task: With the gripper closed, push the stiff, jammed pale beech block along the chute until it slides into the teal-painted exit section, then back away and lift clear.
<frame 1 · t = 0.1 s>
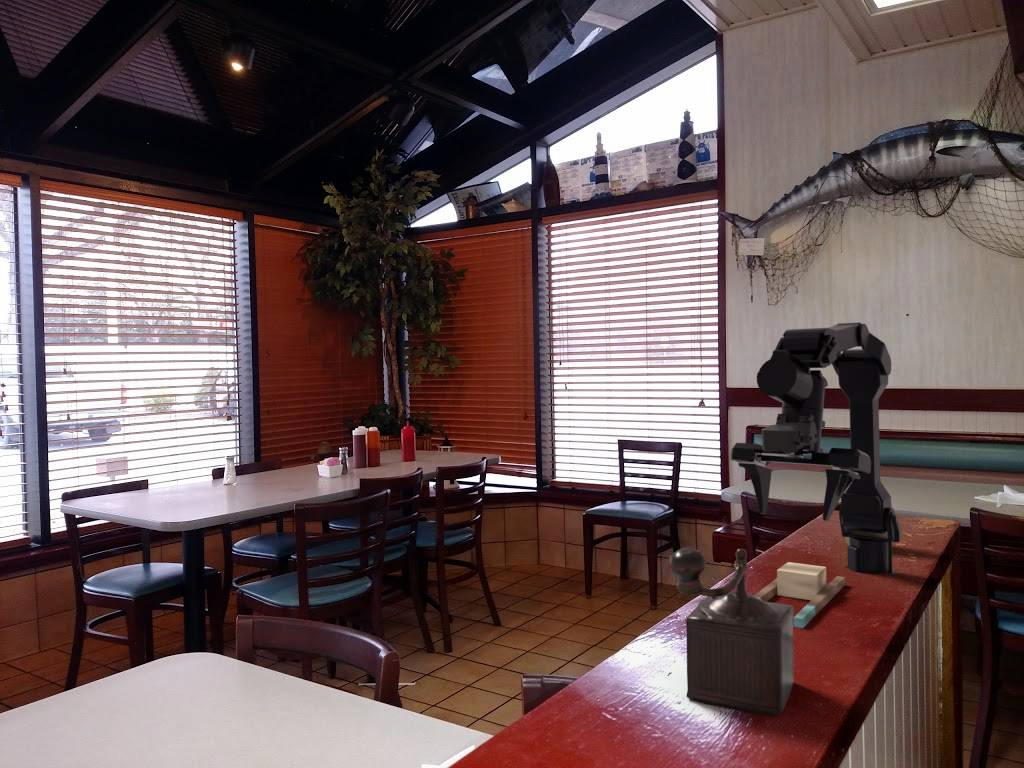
hand: (793, 517, 112), 15 cm above the table, tool pointing down, fingers open, 9 cm apart
squeeze bottle: (863, 547, 157), on the table
dark manual coffee grinder: (733, 700, 87), on the table
jammed block: (801, 580, 124), point 3 cm above the table, slide at 0.0 cm
chute: (794, 604, 121), on the table
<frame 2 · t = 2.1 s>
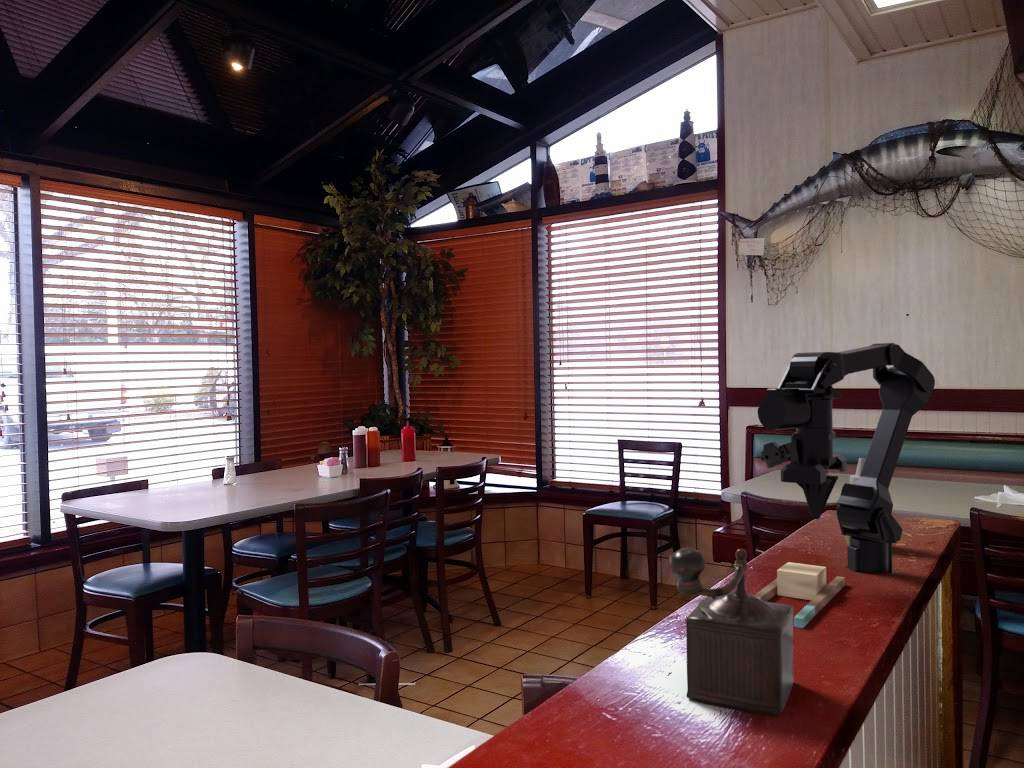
hand: (815, 518, 131), 11 cm above the table, tool pointing down, fingers closed
nothing on the table moved.
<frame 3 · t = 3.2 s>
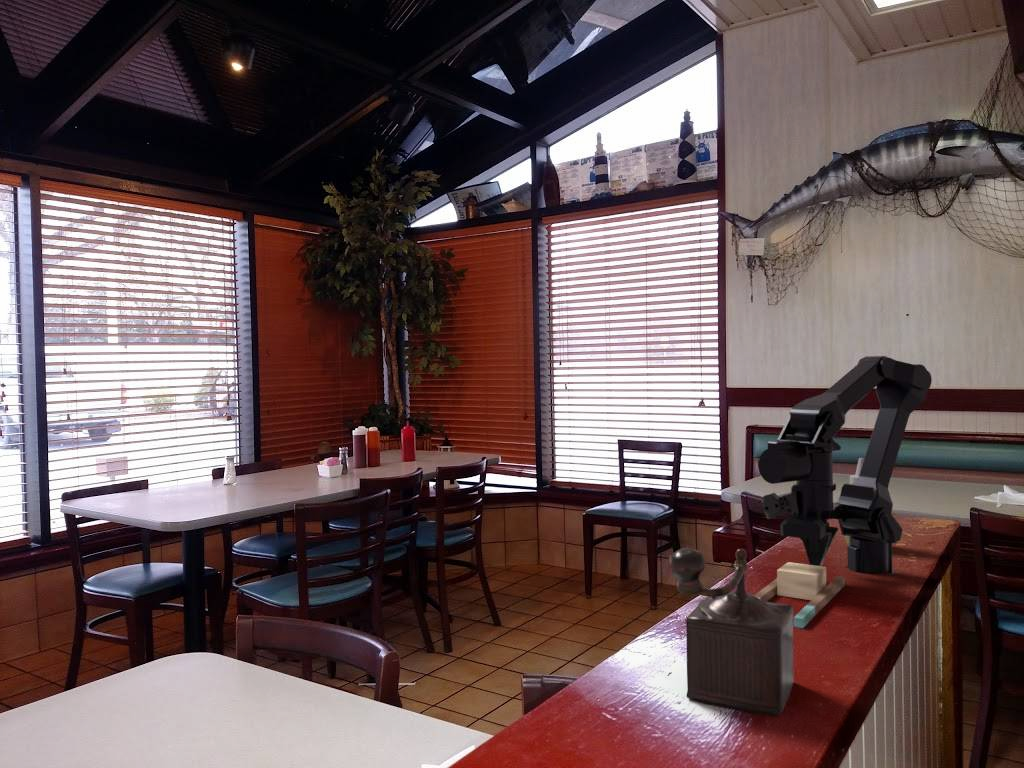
hand: (815, 570, 130), 3 cm above the table, tool pointing down, fingers closed
nothing on the table moved.
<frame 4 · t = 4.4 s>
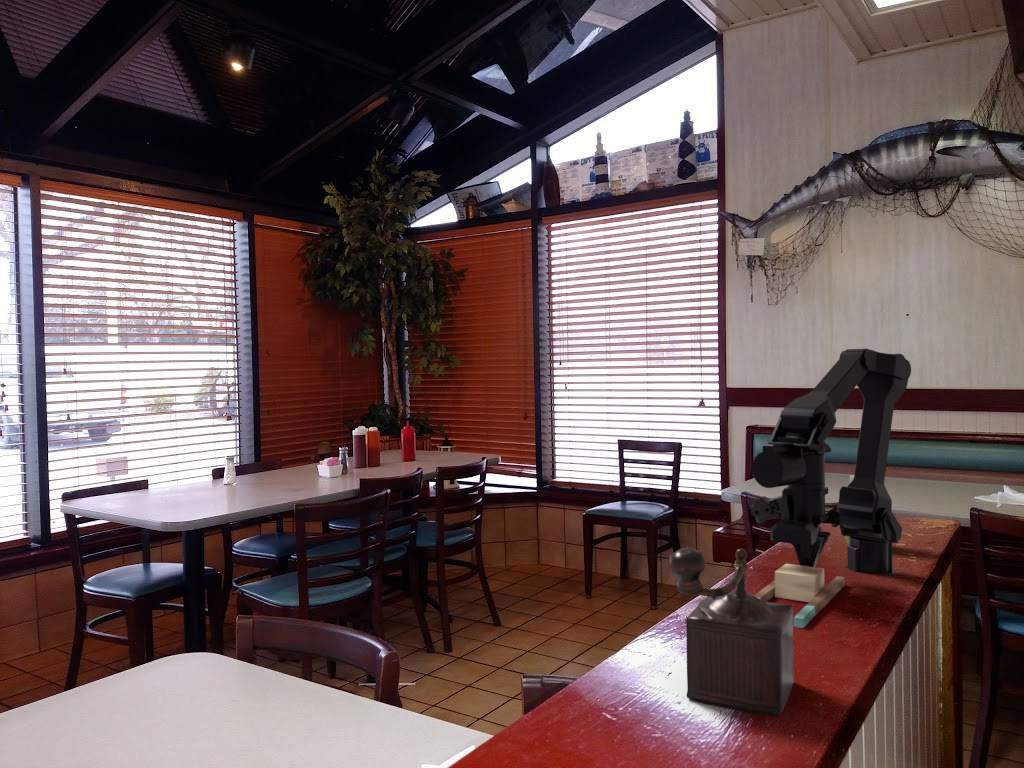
hand: (806, 576, 126), 3 cm above the table, tool pointing down, fingers closed
jammed block: (799, 582, 123), point 3 cm above the table, slide at 1.2 cm, touching gripper
everything else where it was.
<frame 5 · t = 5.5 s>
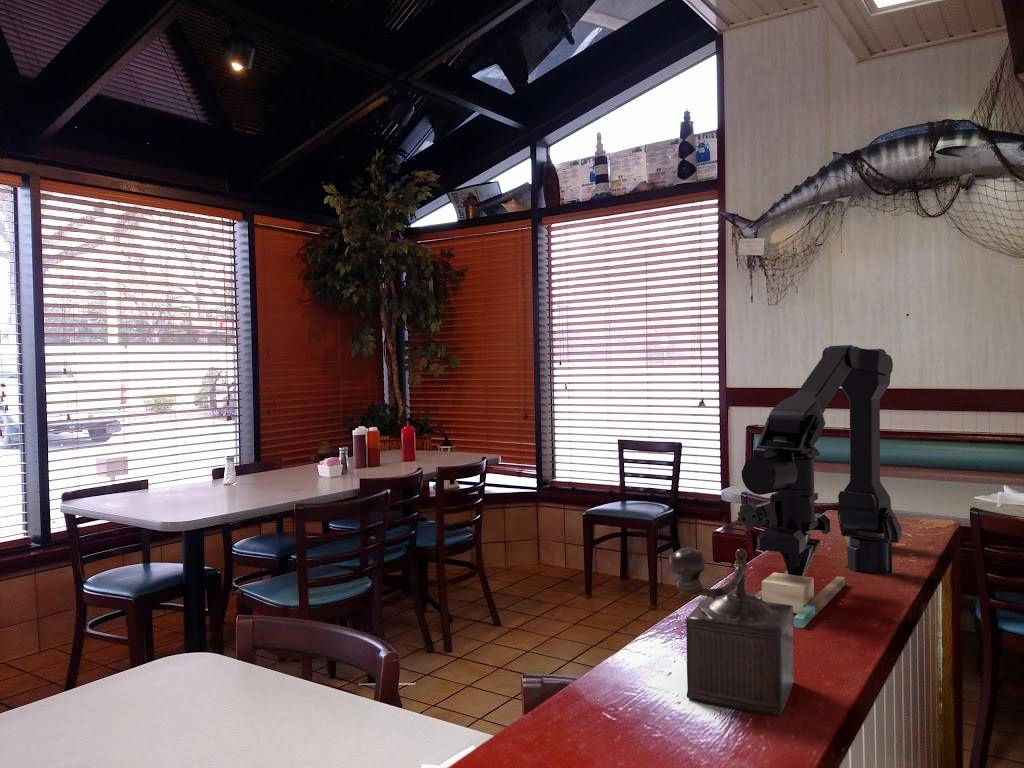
hand: (795, 586, 121), 3 cm above the table, tool pointing down, fingers closed
jammed block: (787, 592, 118), point 3 cm above the table, slide at 7.5 cm, touching gripper
everything else where it was.
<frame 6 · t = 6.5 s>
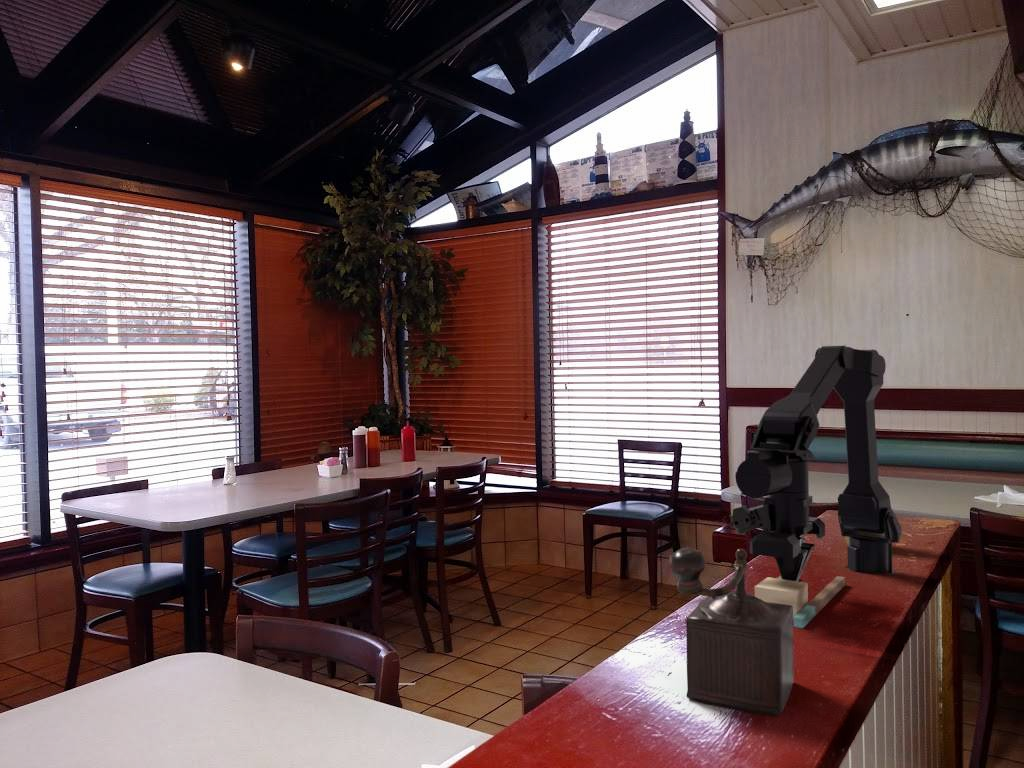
hand: (789, 591, 119), 3 cm above the table, tool pointing down, fingers closed
jammed block: (781, 598, 115), point 3 cm above the table, slide at 10.8 cm, touching gripper
everything else where it was.
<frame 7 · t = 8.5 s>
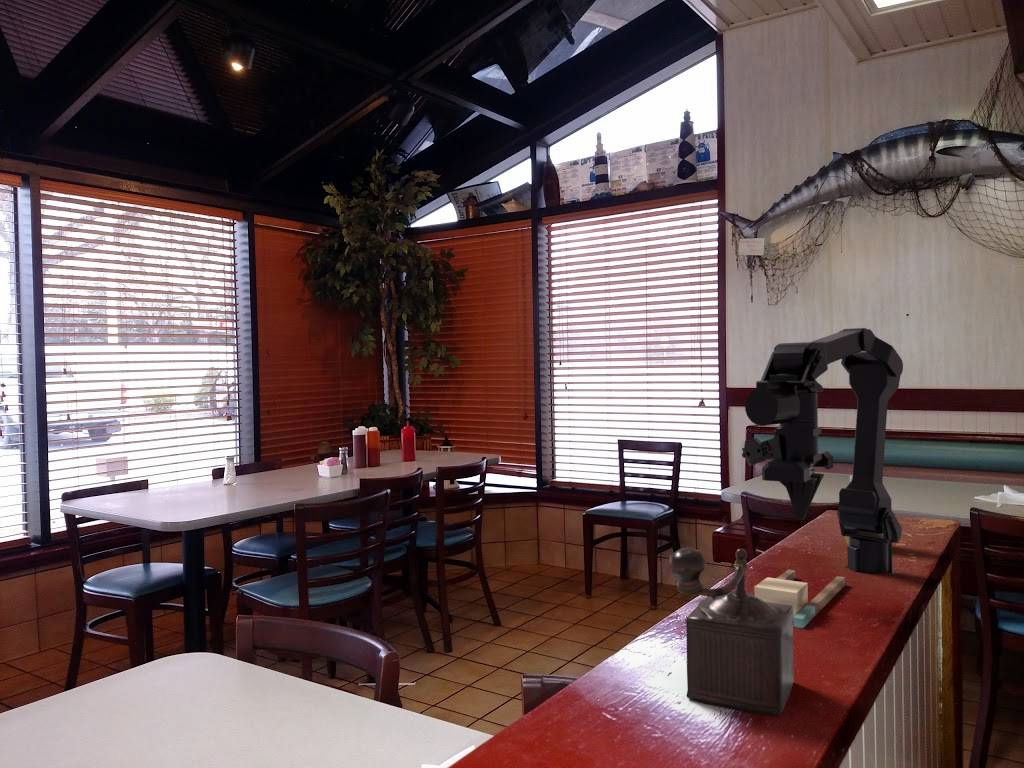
hand: (800, 519, 123), 13 cm above the table, tool pointing down, fingers closed
jammed block: (781, 598, 115), point 3 cm above the table, slide at 10.8 cm
everything else where it was.
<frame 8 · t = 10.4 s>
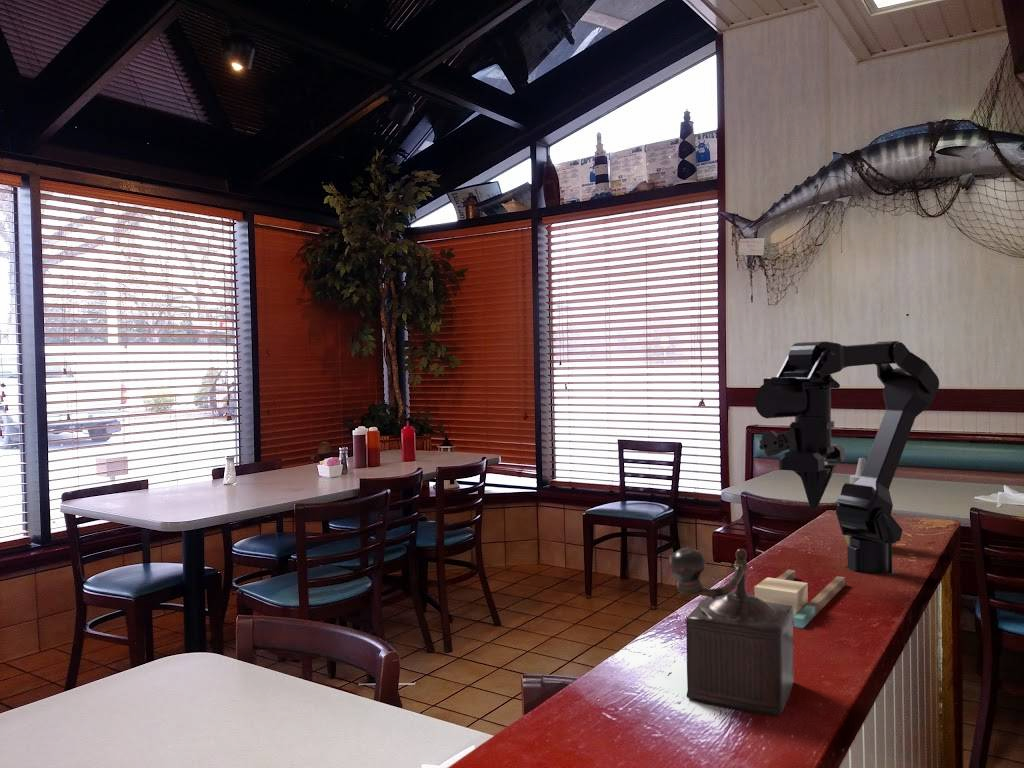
hand: (813, 507, 131), 13 cm above the table, tool pointing down, fingers closed
nothing on the table moved.
at the end: jammed block slide at 10.8 cm; jammed block moved 10.8 cm from its start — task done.
